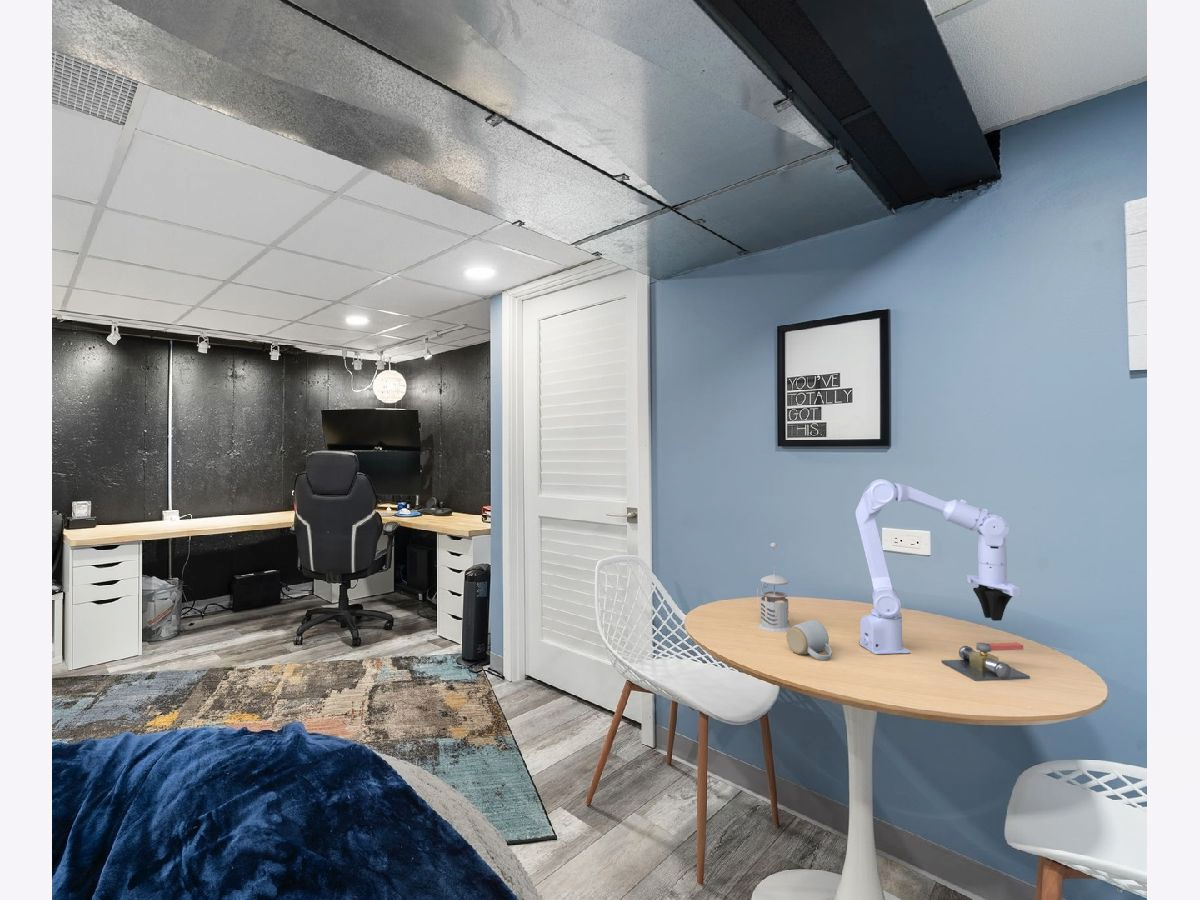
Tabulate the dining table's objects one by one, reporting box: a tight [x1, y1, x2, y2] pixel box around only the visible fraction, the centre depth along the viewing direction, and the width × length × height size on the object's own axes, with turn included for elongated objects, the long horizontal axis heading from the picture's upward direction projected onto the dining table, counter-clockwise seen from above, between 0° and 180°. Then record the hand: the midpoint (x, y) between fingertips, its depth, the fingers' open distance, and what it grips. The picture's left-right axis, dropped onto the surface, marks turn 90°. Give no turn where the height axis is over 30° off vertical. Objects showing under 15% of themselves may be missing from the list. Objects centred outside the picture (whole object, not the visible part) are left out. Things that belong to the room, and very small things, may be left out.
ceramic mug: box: [786, 619, 833, 661], centre depth 143 cm, size 11×8×8 cm
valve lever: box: [975, 642, 1024, 653], centre depth 131 cm, size 10×3×1 cm, turn 94°
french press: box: [756, 542, 792, 633], centre depth 166 cm, size 10×12×25 cm
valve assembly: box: [941, 645, 1031, 682], centre depth 131 cm, size 12×13×4 cm
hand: (993, 618), depth 136 cm, fingers closed
